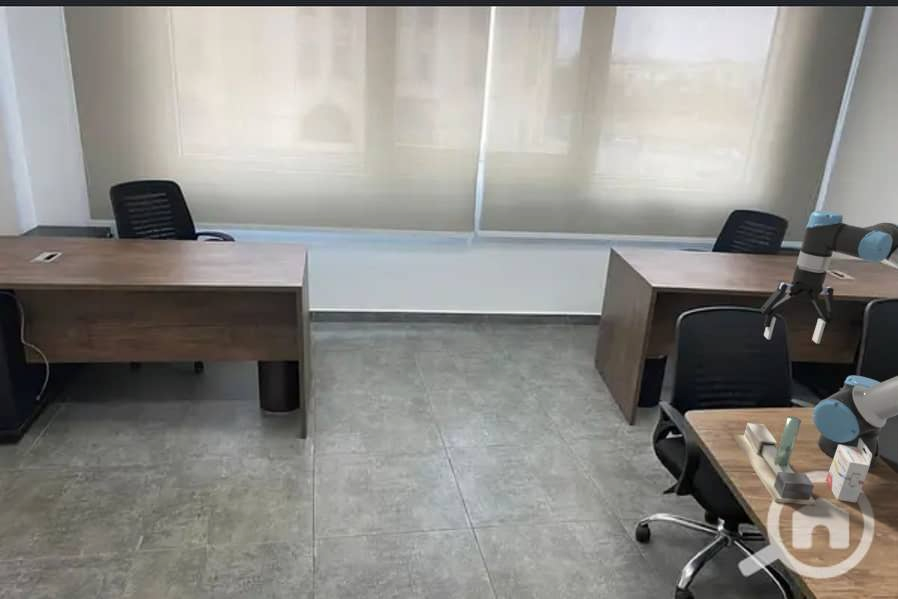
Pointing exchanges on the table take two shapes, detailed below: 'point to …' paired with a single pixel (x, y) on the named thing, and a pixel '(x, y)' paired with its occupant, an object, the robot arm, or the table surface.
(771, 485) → the tube rig
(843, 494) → the ink cartridge box
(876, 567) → the table surface
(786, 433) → the tube
